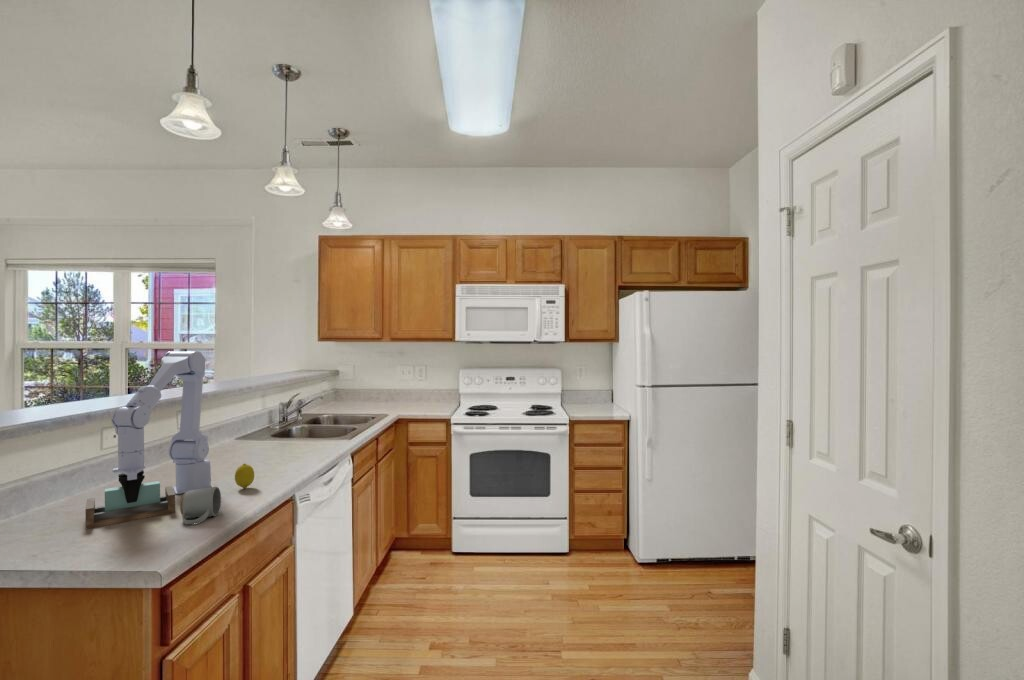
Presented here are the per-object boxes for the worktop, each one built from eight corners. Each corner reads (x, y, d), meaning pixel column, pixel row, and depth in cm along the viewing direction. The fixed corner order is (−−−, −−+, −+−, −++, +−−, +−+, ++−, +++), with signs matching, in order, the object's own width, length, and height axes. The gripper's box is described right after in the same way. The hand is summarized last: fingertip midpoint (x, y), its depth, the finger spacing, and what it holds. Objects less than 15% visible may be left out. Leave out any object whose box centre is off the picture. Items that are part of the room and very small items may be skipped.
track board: (172, 502, 148) (171, 485, 148) (175, 512, 140) (175, 494, 140) (87, 517, 136) (87, 499, 136) (85, 528, 128) (85, 509, 128)
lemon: (246, 491, 158) (245, 466, 158) (230, 490, 159) (230, 465, 159) (258, 486, 164) (258, 461, 164) (243, 485, 165) (243, 461, 165)
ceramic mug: (188, 513, 140) (188, 485, 139) (221, 510, 142) (221, 483, 141) (174, 528, 129) (173, 498, 129) (209, 524, 131) (209, 495, 131)
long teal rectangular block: (159, 502, 143) (159, 480, 143) (160, 504, 141) (160, 483, 141) (105, 511, 136) (104, 488, 136) (104, 514, 133) (104, 491, 133)
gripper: (112, 448, 141) (113, 496, 141) (112, 458, 130) (113, 510, 130) (143, 444, 145) (144, 491, 146) (146, 454, 134) (146, 505, 134)
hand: (131, 500), depth 138 cm, fingers closed on long teal rectangular block, 3 cm apart
